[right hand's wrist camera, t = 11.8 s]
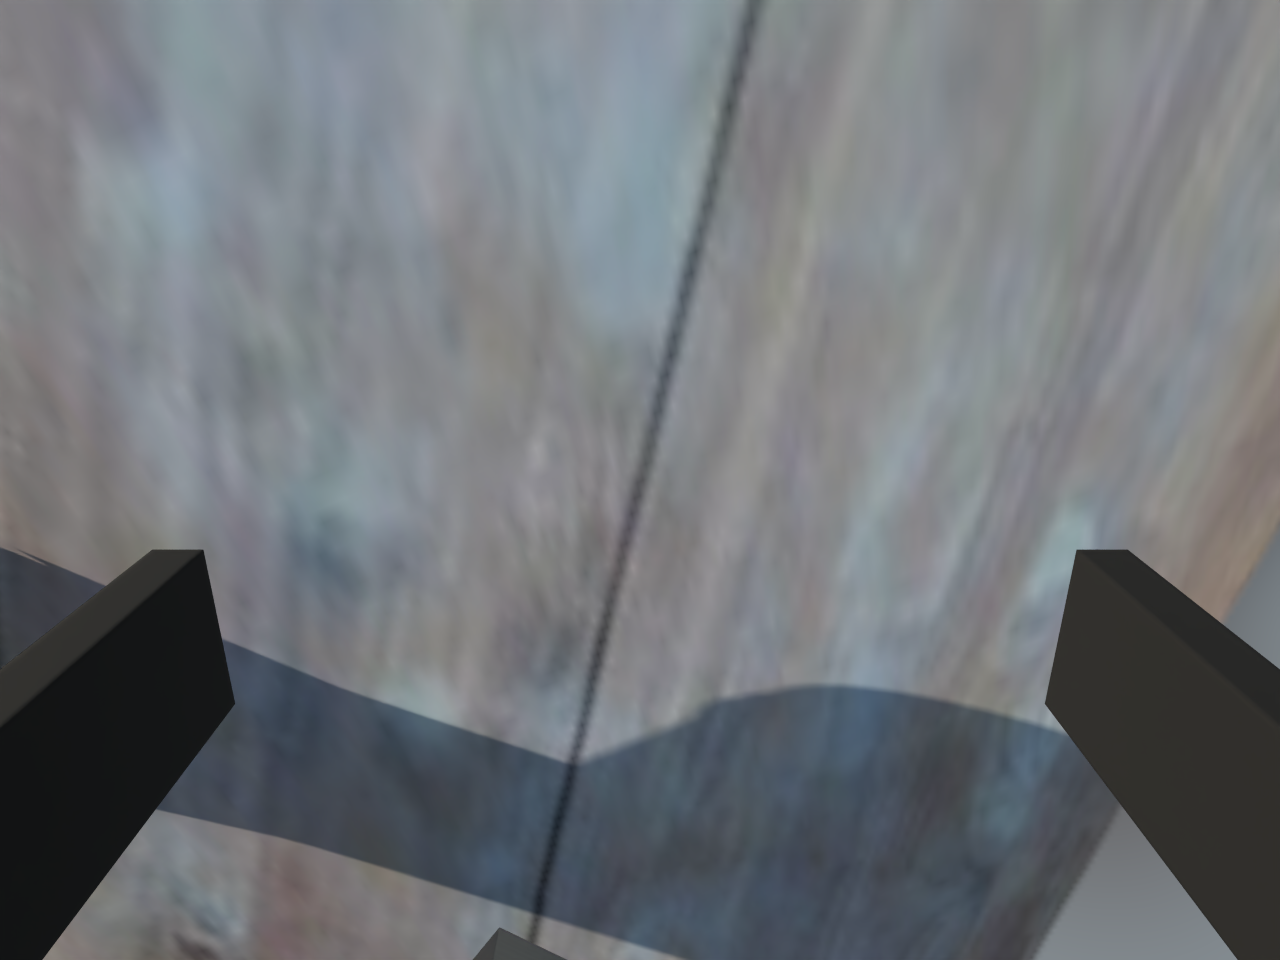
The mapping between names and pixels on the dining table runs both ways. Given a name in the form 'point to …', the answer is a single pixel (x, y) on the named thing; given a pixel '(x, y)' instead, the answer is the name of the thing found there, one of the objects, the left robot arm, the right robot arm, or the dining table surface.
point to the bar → (513, 949)
